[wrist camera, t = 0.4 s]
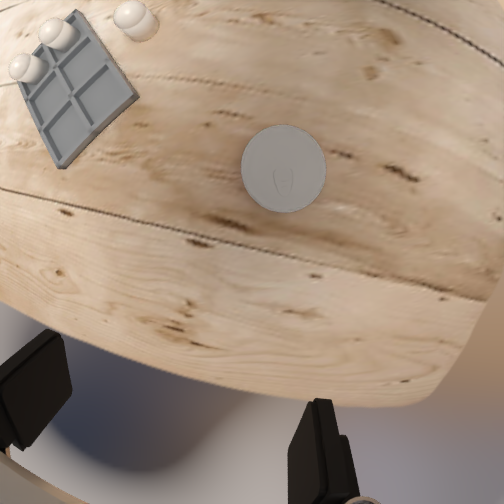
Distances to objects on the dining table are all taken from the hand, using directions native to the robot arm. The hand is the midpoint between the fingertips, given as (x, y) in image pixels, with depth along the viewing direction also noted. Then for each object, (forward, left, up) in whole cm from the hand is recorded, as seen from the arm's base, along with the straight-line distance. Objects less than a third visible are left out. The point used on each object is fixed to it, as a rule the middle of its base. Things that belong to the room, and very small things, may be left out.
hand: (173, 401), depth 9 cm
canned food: (-8, -4, -30) cm, 32 cm away
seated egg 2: (+5, -43, -29) cm, 52 cm away
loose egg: (-5, -33, -30) cm, 45 cm away
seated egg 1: (+13, -43, -29) cm, 53 cm away
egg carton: (+9, -35, -30) cm, 47 cm away
